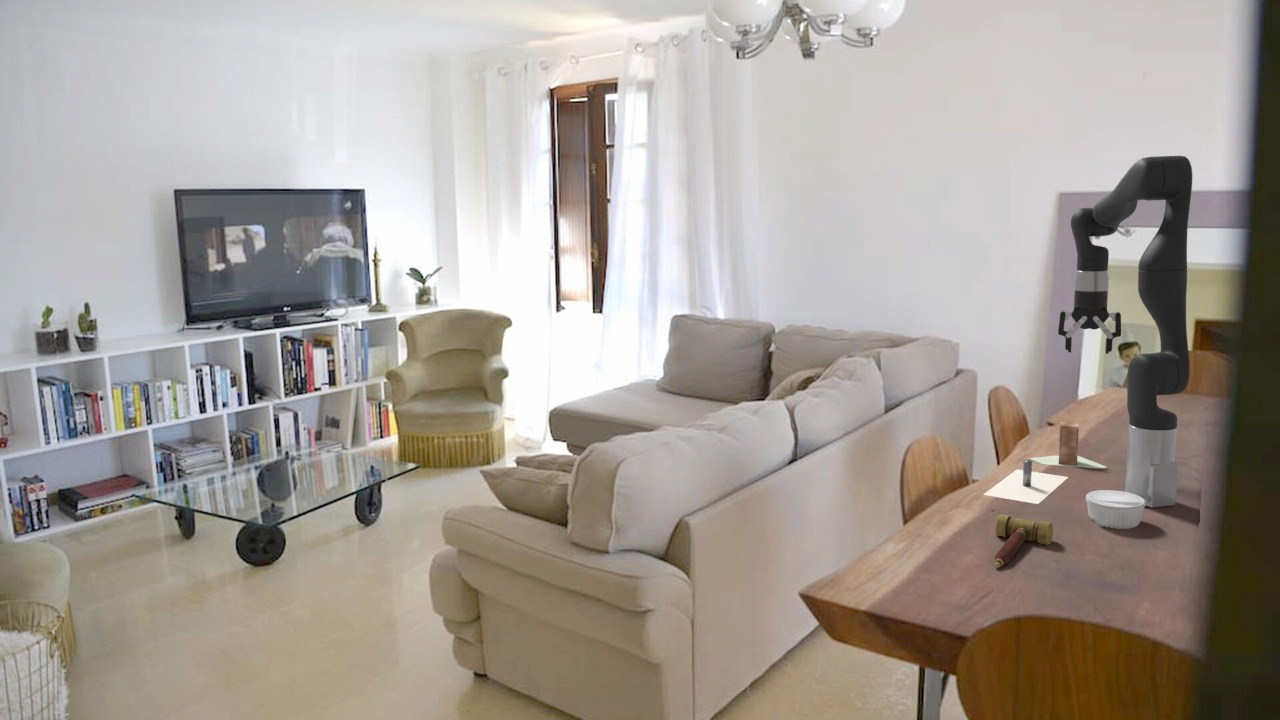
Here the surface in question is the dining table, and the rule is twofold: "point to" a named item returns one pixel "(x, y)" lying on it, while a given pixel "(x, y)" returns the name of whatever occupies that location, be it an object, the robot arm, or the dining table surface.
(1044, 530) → the gavel
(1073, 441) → the tan recessed-panel box
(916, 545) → the dining table surface
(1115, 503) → the ramekin
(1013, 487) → the hook board
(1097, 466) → the mat
